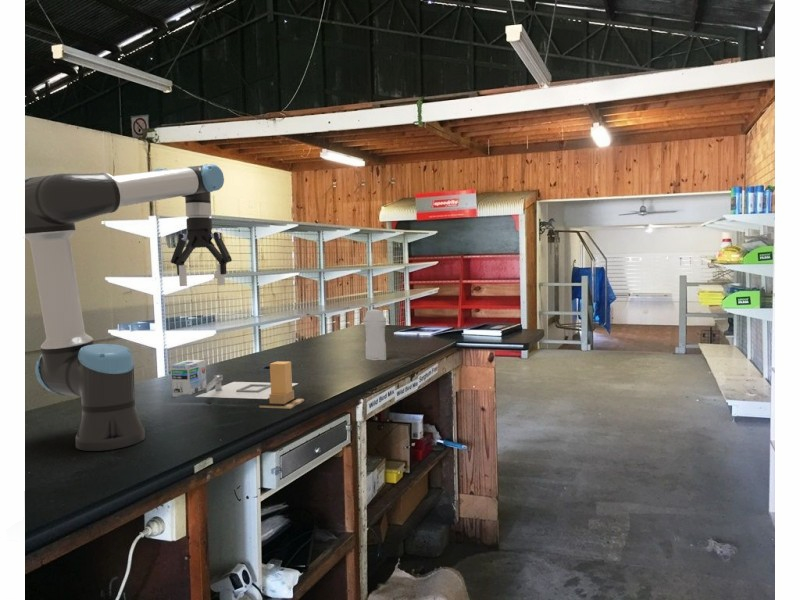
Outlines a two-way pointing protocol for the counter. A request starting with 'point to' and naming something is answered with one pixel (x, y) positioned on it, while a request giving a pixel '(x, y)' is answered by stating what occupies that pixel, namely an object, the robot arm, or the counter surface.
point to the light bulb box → (188, 377)
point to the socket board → (241, 390)
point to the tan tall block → (281, 382)
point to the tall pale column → (375, 335)
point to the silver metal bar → (212, 383)
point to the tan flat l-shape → (288, 405)
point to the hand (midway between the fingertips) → (202, 285)
